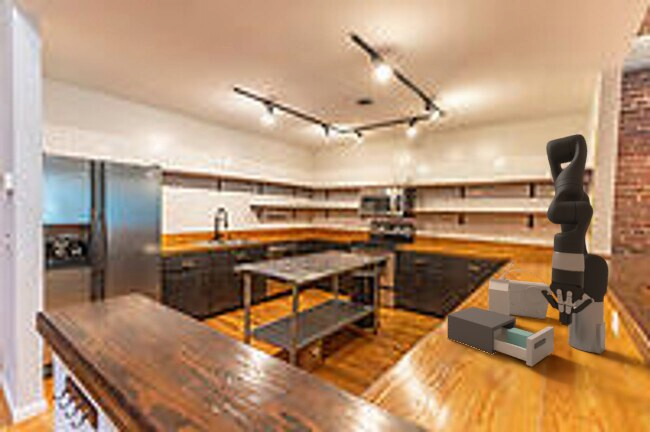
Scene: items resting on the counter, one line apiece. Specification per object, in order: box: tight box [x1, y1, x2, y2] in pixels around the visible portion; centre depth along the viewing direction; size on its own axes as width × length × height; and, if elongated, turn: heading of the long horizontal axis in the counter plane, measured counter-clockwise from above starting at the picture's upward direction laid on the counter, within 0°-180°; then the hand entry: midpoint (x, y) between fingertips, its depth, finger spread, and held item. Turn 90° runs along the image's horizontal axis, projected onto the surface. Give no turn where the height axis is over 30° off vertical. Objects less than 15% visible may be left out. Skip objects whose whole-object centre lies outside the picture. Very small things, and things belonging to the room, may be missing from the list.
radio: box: [498, 261, 550, 320], centre depth 139 cm, size 22×8×25 cm, turn 62°
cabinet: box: [447, 306, 517, 355], centre depth 110 cm, size 16×18×9 cm
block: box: [507, 327, 535, 349], centre depth 99 cm, size 6×5×5 cm
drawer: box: [494, 325, 555, 367], centre depth 100 cm, size 16×18×8 cm
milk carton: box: [487, 277, 510, 316], centre depth 128 cm, size 7×7×19 cm
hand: (565, 324), depth 89 cm, fingers closed
